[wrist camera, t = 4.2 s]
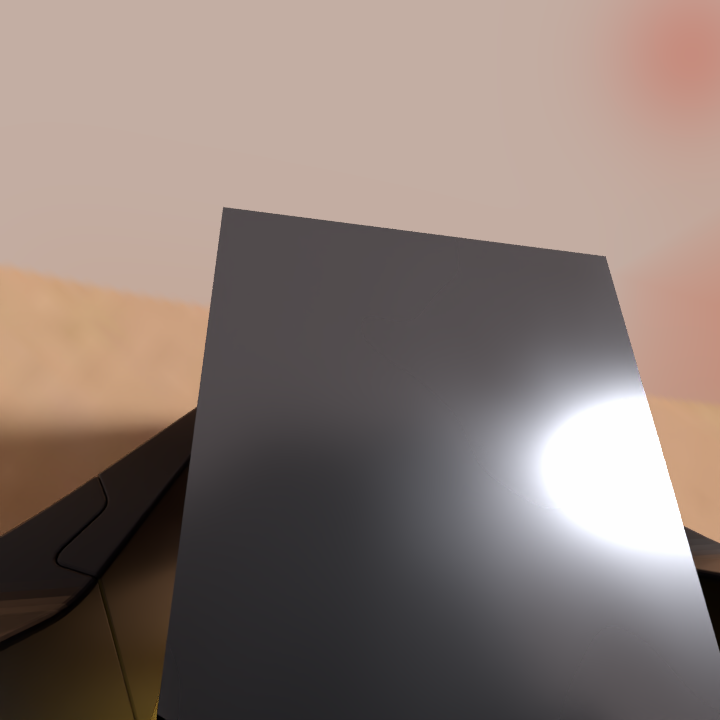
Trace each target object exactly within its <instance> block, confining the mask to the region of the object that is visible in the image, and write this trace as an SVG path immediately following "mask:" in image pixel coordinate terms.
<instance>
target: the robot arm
mask: <svg viewBox="0 0 720 720" xmlns="http://www.w3.org/2000/svg"><path fill="white" fill-rule="evenodd" d="M196 412H197V407H196V408H195V409H193V410H192V411H190V412H189V413H187V414H186V415H184V416H183V417H181V418H180V419H178V420H177V421H176V422H174V423H173V424H171V425H170V426H168V427H167V428H165V429H164V430H162V431H161V432H159V433H158V434H157V435H155V436H154V437H152V438H151V439H149V440H148V441H146V442H145V443H143V444H142V445H140V446H139V447H137V448H136V449H135V450H133V451H132V452H130V453H129V454H127V455H126V456H124V457H123V458H121V459H120V460H118V461H117V462H116V463H114V464H113V465H111V466H110V467H108V468H107V469H105V470H104V471H102V472H101V473H99V474H98V477H93V478H92V479H90V480H89V481H87V482H86V483H85V484H83V485H82V486H80V487H79V488H77V489H76V490H74V491H73V492H71V493H70V494H68V495H66V496H65V497H63V498H62V499H60V500H59V501H57V502H56V503H54V504H53V505H51V506H50V507H48V508H46V509H45V510H43V511H42V512H40V513H38V514H37V515H35V516H33V517H32V518H30V519H28V520H27V521H25V522H23V523H22V524H20V525H18V526H17V527H15V528H13V529H12V530H10V531H8V532H7V533H5V534H3V535H2V536H0V720H151V717H152V714H153V711H154V708H155V704H156V701H157V698H158V695H159V691H160V688H161V680H162V672H163V665H164V657H165V649H166V642H167V634H168V626H169V619H170V611H171V603H172V596H173V588H174V580H175V573H176V565H177V557H178V550H179V542H180V535H181V527H182V519H183V512H184V504H185V496H186V489H187V481H188V473H189V466H190V458H191V450H192V443H193V435H194V427H195V420H196ZM683 527H684V530H685V534H686V537H687V540H688V544H689V547H690V551H691V554H692V558H693V561H694V565H695V568H696V572H697V575H698V579H699V582H700V586H701V589H702V592H703V596H704V599H705V603H706V606H707V610H708V613H709V617H710V620H711V624H712V627H713V631H714V634H715V637H716V641H717V644H718V648H719V651H720V543H718V542H716V541H714V540H711V539H709V538H707V537H705V536H703V535H701V534H699V533H697V532H695V531H693V530H691V529H689V528H687V527H685V526H683Z"/></svg>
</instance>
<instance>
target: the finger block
mask: <svg viewBox="0 0 720 720" xmlns="http://www.w3.org/2000/svg"><path fill="white" fill-rule="evenodd" d="M157 720H720V651H719V648H718V644H717V641H716V637H715V634H714V631H713V627H712V624H711V620H710V617H709V613H708V610H707V606H706V603H705V599H704V596H703V592H702V589H701V586H700V582H699V579H698V575H697V572H696V568H695V565H694V561H693V558H692V554H691V551H690V547H689V544H688V540H687V537H686V534H685V530H684V527H683V523H682V520H681V516H680V513H679V509H678V506H677V502H676V499H675V495H674V492H673V489H672V485H671V482H670V478H669V475H668V471H667V468H666V464H665V461H664V457H663V454H662V450H661V447H660V444H659V440H658V437H657V433H656V430H655V426H654V423H653V419H652V416H651V412H650V409H649V405H648V402H647V398H646V395H645V392H644V388H643V385H642V381H641V378H640V374H639V371H638V367H637V364H636V360H635V357H634V354H633V350H632V347H631V343H630V340H629V336H628V333H627V329H626V326H625V322H624V319H623V316H622V312H621V309H620V305H619V301H618V298H617V295H616V291H615V288H614V284H613V281H612V277H611V274H610V270H609V267H608V263H607V260H606V257H604V256H598V255H590V254H582V253H575V252H567V251H559V250H551V249H543V248H535V247H527V246H520V245H512V244H504V243H497V242H489V241H481V240H473V239H466V238H458V237H450V236H443V235H435V234H427V233H419V232H412V231H403V230H396V229H388V228H380V227H373V226H364V225H357V224H349V223H342V222H334V221H326V220H318V219H311V218H302V217H295V216H287V215H280V214H272V213H264V212H255V211H248V210H241V209H233V208H225V207H224V208H223V213H222V221H221V229H220V236H219V244H218V251H217V259H216V267H215V274H214V282H213V290H212V297H211V305H210V313H209V320H208V328H207V336H206V343H205V351H204V359H203V366H202V374H201V382H200V389H199V397H198V404H197V412H196V420H195V427H194V435H193V443H192V450H191V458H190V466H189V473H188V481H187V489H186V496H185V504H184V512H183V519H182V527H181V535H180V542H179V550H178V557H177V565H176V573H175V580H174V588H173V596H172V603H171V611H170V619H169V626H168V634H167V642H166V649H165V657H164V665H163V672H162V680H161V688H160V695H159V703H158V711H157Z"/></svg>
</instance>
